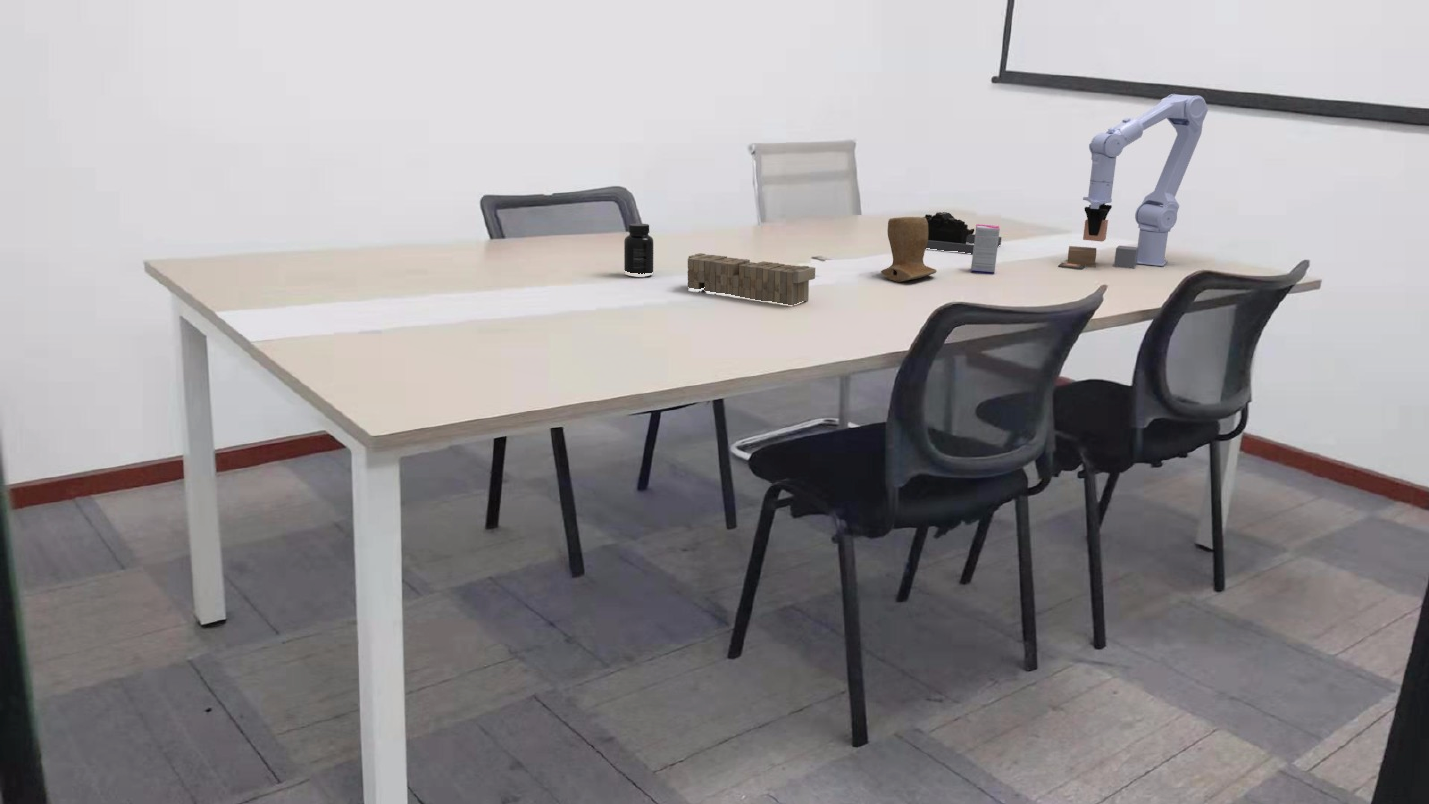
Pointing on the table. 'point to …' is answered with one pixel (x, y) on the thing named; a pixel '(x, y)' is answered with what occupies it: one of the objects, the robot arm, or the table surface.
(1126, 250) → the charcoal cube
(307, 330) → the table surface
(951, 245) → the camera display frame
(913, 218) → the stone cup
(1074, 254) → the walnut block
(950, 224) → the film camera
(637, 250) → the supplement bottle
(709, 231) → the table surface
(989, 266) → the supplement box
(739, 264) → the block tower
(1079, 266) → the card
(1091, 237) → the terracotta cube
